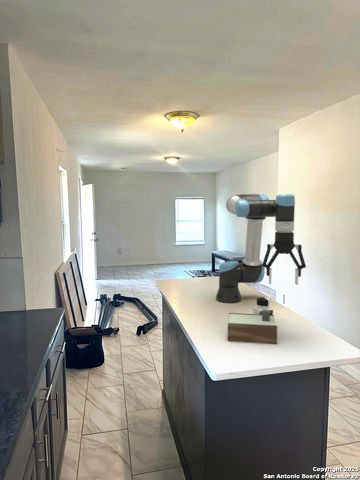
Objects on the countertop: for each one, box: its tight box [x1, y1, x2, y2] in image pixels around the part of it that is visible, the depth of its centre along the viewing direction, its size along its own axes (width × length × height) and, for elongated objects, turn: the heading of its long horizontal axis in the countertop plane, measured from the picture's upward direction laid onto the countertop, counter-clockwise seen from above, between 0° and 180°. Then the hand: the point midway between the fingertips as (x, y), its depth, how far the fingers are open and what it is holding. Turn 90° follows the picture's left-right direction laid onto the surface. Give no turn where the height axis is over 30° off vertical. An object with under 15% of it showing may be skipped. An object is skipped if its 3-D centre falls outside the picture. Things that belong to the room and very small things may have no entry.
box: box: [227, 312, 278, 345], centre depth 141 cm, size 14×20×8 cm
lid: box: [228, 310, 277, 326], centre depth 140 cm, size 12×20×5 cm, turn 79°
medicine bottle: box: [252, 296, 274, 315], centre depth 158 cm, size 7×7×12 cm
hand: (283, 283), depth 136 cm, fingers open, 10 cm apart
